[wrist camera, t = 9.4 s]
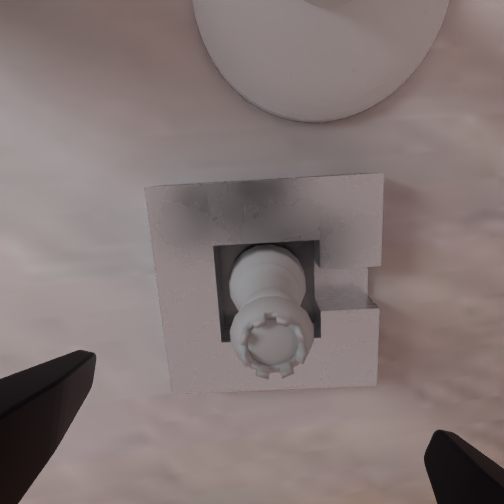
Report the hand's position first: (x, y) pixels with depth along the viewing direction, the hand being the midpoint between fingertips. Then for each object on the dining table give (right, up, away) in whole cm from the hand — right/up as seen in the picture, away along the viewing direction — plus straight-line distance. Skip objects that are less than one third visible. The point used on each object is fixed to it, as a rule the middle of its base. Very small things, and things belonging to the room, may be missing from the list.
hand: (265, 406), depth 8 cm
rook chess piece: (0, +2, +11) cm, 12 cm away
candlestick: (+3, +17, +8) cm, 19 cm away
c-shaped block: (+1, +2, +12) cm, 12 cm away
